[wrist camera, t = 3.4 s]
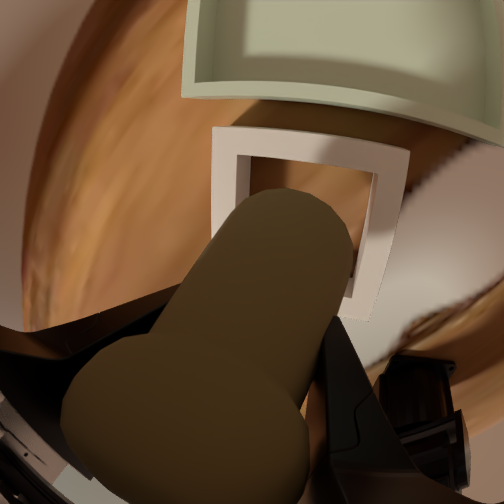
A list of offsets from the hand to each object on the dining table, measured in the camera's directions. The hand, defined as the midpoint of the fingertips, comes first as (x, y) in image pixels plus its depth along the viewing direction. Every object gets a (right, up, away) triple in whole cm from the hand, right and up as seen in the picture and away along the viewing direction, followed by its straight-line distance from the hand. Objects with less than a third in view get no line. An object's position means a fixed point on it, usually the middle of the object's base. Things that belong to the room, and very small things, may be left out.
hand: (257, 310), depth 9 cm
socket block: (+3, +4, +9) cm, 10 cm away
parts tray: (+6, +16, +2) cm, 17 cm away
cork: (+1, +2, +4) cm, 4 cm away
